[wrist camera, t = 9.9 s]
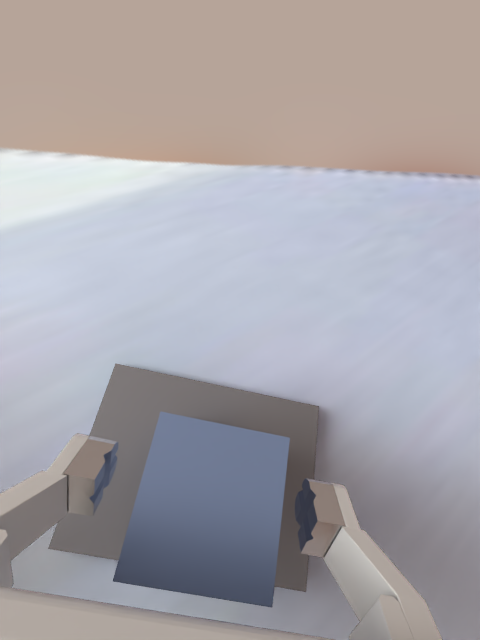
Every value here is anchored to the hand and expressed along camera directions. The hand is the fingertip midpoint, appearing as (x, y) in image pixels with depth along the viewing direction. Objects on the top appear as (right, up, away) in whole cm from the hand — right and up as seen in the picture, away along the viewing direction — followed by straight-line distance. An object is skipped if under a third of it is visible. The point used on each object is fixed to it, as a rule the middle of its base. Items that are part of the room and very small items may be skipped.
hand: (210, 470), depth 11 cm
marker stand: (-1, -4, +7) cm, 8 cm away
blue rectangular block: (-1, -3, +6) cm, 7 cm away
